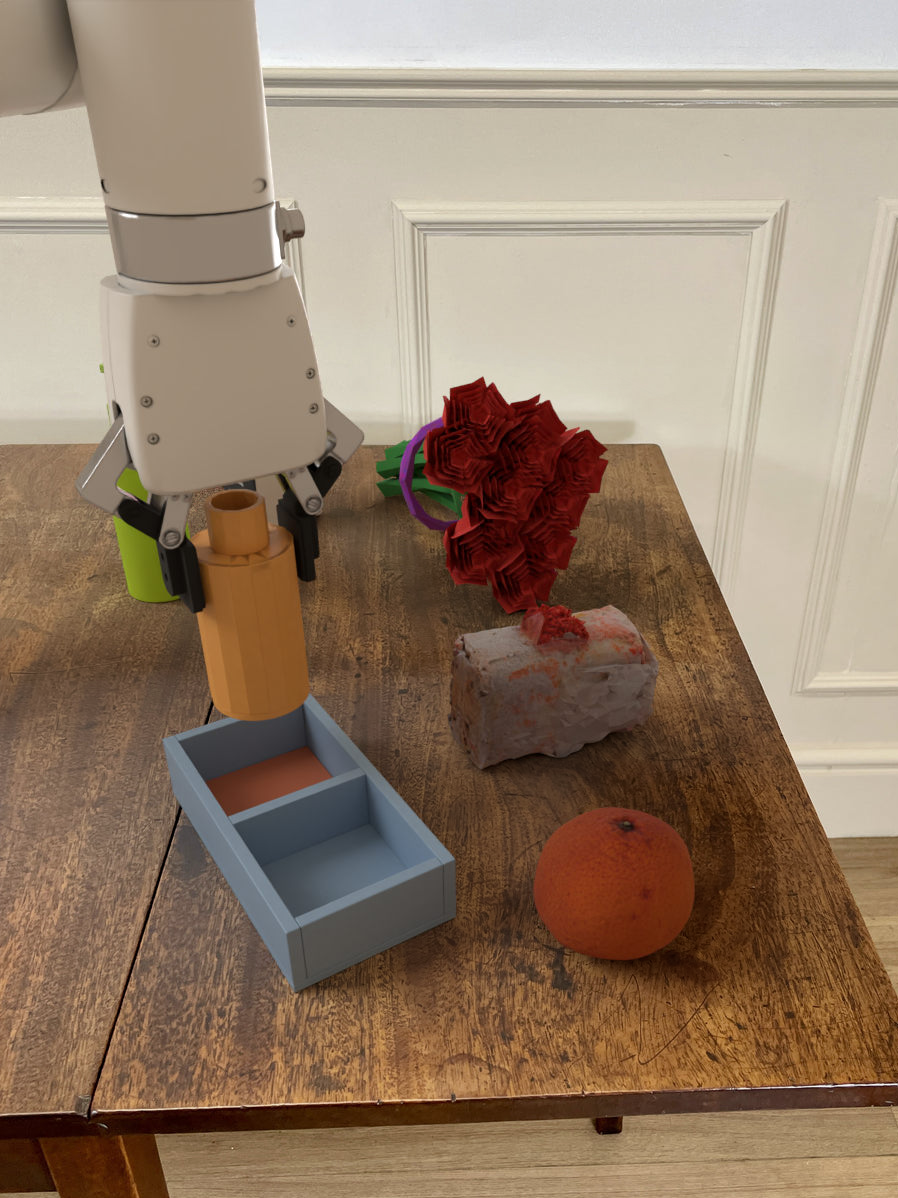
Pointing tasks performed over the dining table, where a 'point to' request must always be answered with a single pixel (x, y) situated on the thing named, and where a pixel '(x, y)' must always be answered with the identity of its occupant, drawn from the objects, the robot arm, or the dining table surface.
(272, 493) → the medicine bottle
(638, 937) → the fruit
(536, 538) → the bouquet
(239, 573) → the bottle
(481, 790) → the dining table surface
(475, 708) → the food item
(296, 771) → the tray
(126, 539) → the soap dispenser
